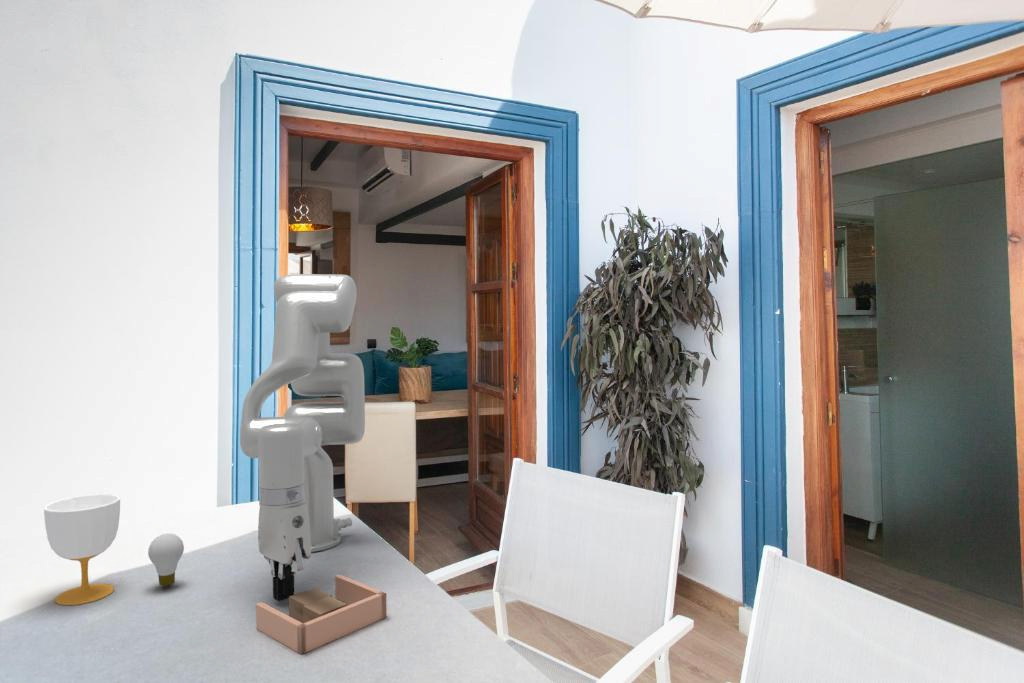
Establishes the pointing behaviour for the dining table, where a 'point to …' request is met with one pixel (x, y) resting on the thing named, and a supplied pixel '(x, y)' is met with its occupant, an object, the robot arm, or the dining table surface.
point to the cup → (82, 538)
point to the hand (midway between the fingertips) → (283, 597)
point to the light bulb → (166, 557)
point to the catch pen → (325, 617)
